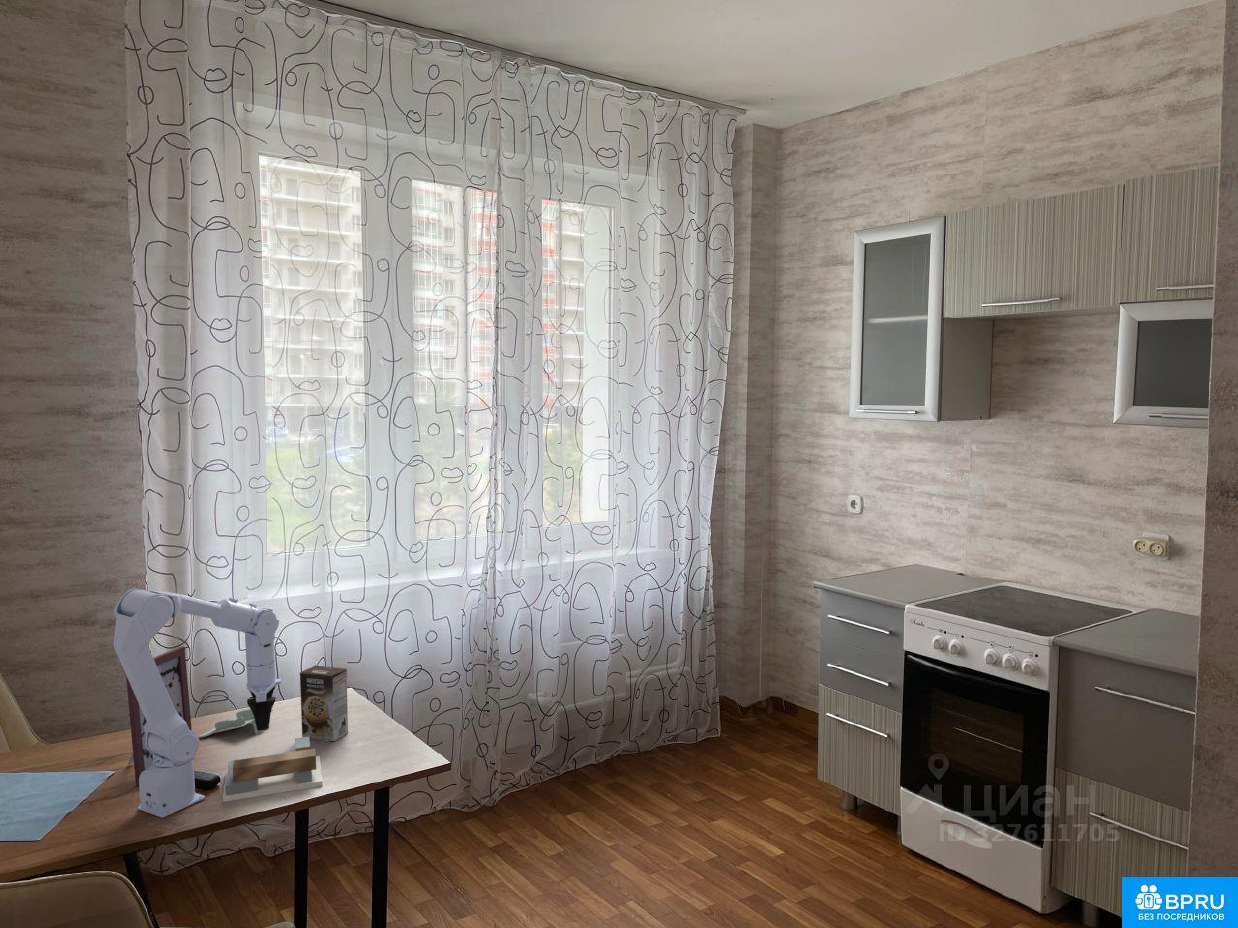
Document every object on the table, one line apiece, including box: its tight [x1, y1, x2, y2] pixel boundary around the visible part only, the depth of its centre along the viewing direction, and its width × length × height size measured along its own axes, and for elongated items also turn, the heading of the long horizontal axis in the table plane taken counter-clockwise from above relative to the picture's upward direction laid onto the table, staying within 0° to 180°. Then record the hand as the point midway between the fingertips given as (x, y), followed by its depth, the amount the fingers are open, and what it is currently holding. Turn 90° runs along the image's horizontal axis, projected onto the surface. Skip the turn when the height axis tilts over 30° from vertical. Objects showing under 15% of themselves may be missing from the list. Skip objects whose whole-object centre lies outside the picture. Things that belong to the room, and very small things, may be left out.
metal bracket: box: [197, 708, 274, 739], centre depth 215 cm, size 14×6×15 cm
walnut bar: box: [233, 748, 317, 782], centre depth 184 cm, size 16×4×3 cm, turn 111°
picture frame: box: [125, 646, 193, 786], centre depth 193 cm, size 17×10×25 cm, turn 168°
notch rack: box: [222, 736, 323, 803], centre depth 187 cm, size 19×14×6 cm
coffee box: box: [299, 665, 349, 742], centre depth 210 cm, size 9×6×16 cm
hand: (263, 723), depth 192 cm, fingers open, 7 cm apart
